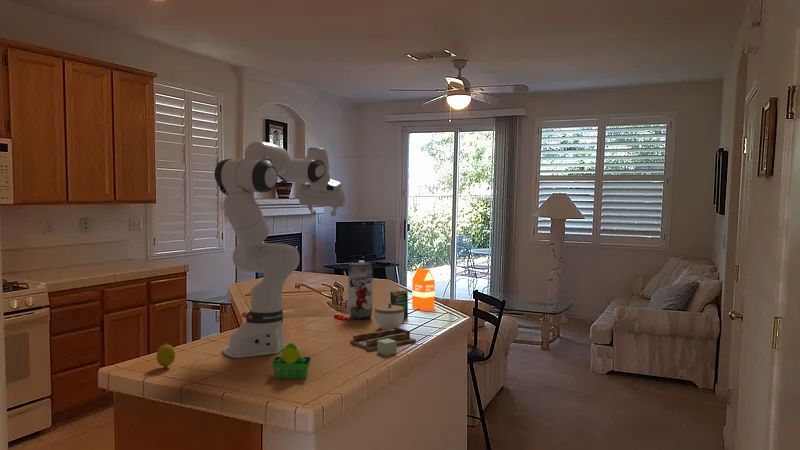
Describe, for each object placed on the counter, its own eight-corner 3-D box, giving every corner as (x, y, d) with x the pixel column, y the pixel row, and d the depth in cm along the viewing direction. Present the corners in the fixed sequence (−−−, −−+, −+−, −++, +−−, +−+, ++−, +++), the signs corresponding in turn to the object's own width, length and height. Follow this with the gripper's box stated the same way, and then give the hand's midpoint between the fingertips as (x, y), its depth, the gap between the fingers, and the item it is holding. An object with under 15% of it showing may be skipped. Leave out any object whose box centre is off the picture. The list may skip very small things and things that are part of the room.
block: (385, 355, 193) (385, 343, 193) (377, 352, 197) (377, 340, 197) (396, 353, 196) (396, 341, 196) (388, 350, 200) (388, 338, 200)
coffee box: (392, 320, 249) (392, 292, 249) (389, 319, 252) (390, 291, 251) (408, 318, 253) (408, 290, 252) (405, 317, 256) (405, 289, 255)
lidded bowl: (385, 324, 242) (385, 299, 241) (409, 327, 235) (409, 302, 235) (369, 330, 231) (369, 304, 230) (394, 333, 224) (394, 307, 224)
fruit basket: (311, 372, 174) (311, 337, 173) (307, 381, 165) (307, 344, 165) (275, 372, 174) (275, 337, 173) (270, 381, 165) (269, 344, 164)
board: (370, 351, 198) (370, 340, 198) (350, 343, 209) (350, 332, 209) (415, 342, 211) (415, 332, 211) (394, 335, 222) (394, 325, 222)
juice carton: (347, 316, 258) (347, 259, 256) (368, 315, 261) (369, 259, 260) (351, 320, 249) (351, 261, 248) (373, 319, 252) (373, 261, 251)
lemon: (169, 364, 181) (169, 340, 181) (178, 367, 178) (178, 343, 177) (153, 368, 177) (153, 343, 176) (161, 371, 173) (161, 346, 173)
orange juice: (423, 305, 287) (423, 267, 286) (434, 307, 280) (435, 269, 279) (411, 307, 282) (412, 268, 281) (423, 309, 275) (423, 270, 274)
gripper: (294, 185, 231) (298, 216, 236) (339, 187, 226) (342, 218, 230) (301, 181, 237) (304, 212, 242) (345, 183, 231) (347, 214, 236)
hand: (323, 215), depth 236 cm, fingers open, 8 cm apart
